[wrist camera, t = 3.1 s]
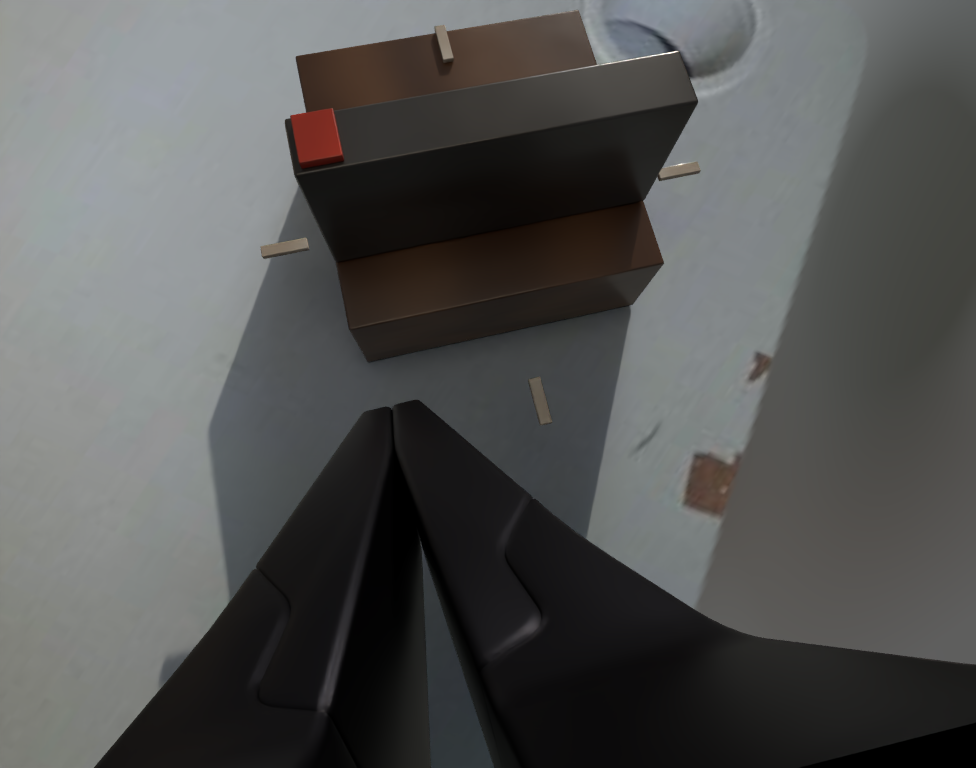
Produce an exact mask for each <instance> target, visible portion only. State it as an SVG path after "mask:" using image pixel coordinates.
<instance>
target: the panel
mask: <svg viewBox="0 0 976 768" xmlns="http://www.w3.org/2000/svg"><path fill="white" fill-rule="evenodd" d="M434 28H435V33H434V34H428V35H422V36H416V37H410V38H404V39H398V40H391V41H385V42H379V43H373V44H367V45H361V46H355V47H349V48H343V49H337V50H331V51H324V52H318V53H312V54H306V55H300V56H296V63H297V68H298V73H299V78H300V83H301V88H302V93H303V98H304V103H305V108H306V113H308V112H313V111H319V110H325V109H331V108H332V109H333V111H336V110H341V109H347V108H353V107H358V106H364V105H370V104H376V103H381V102H387V101H393V100H399V99H404V98H410V97H416V96H422V95H427V94H433V93H439V92H444V91H450V90H456V89H462V88H467V87H473V86H479V85H485V84H490V83H496V82H502V81H507V80H513V79H519V78H525V77H530V76H536V75H542V74H548V73H553V72H559V71H565V70H571V69H576V68H582V67H588V66H593V65H597V63H596V60H595V57H594V54H593V52H592V49H591V46H590V43H589V40H588V37H587V34H586V31H585V28H584V25H583V22H582V19H581V16H580V13H579V11H578V10H574V11H568V12H562V13H556V14H550V15H544V16H538V17H531V18H525V19H519V20H513V21H507V22H501V23H495V24H489V25H483V26H477V27H471V28H464V29H458V30H452V31H446V28H445V25H440V26H435V27H434ZM700 171H701V170H700V168H699V165H698V162H692V163H687V164H682V165H676V166H671V167H666V168H662V169H661V171H660V173H659V174H658V176H657V177H658V180H659V181H662V180H667V179H673V178H678V177H683V176H688V175H693V174H698V173H699V172H700ZM307 250H309V245H308V240H307V238H302V239H296V240H291V241H286V242H281V243H276V244H271V245H266V246H261V253H262V257H263V258H264V259H266V258H271V257H276V256H281V255H286V254H292V253H297V252H302V251H307ZM663 264H664V261H663V259H662V256H661V253H660V250H659V247H658V244H657V241H656V238H655V235H654V232H653V229H652V226H651V223H650V220H649V217H648V214H647V211H646V208H645V205H644V202H643V201H639V202H634V203H629V204H624V205H619V206H614V207H609V208H604V209H599V210H594V211H589V212H584V213H579V214H574V215H569V216H564V217H559V218H554V219H549V220H544V221H539V222H534V223H529V224H524V225H519V226H514V227H509V228H504V229H499V230H493V231H488V232H483V233H478V234H473V235H468V236H463V237H458V238H453V239H448V240H443V241H438V242H433V243H428V244H423V245H418V246H413V247H408V248H403V249H398V250H393V251H388V252H383V253H378V254H373V255H368V256H363V257H358V258H353V259H348V260H343V261H338V262H336V266H337V271H338V276H339V281H340V286H341V291H342V296H343V301H344V306H345V312H346V317H347V322H348V327H349V330H350V332H351V333H352V335H353V337H354V339H355V340H356V342H357V344H358V346H359V347H360V349H361V351H362V353H363V354H364V356H365V358H366V360H367V361H368V362H371V361H375V360H380V359H384V358H389V357H394V356H398V355H403V354H407V353H412V352H417V351H421V350H426V349H430V348H435V347H440V346H444V345H449V344H453V343H458V342H462V341H467V340H472V339H476V338H481V337H485V336H490V335H495V334H499V333H504V332H508V331H513V330H518V329H522V328H527V327H531V326H536V325H541V324H545V323H550V322H554V321H559V320H564V319H568V318H573V317H577V316H582V315H587V314H591V313H596V312H600V311H605V310H610V309H614V308H619V307H623V306H628V305H632V304H633V303H634V302H635V301H636V300H637V298H638V297H639V296H640V294H641V293H642V292H643V290H644V289H645V288H646V286H647V285H648V284H649V282H650V281H651V280H652V278H653V277H654V276H655V274H656V273H657V272H658V271H659V269H660V268H661V267H662V265H663ZM528 383H529V387H530V390H531V394H532V398H533V402H534V405H535V409H536V413H537V417H538V420H539V424H540V426H541V425H546V424H550V423H552V419H551V415H550V411H549V408H548V404H547V400H546V397H545V393H544V389H543V386H542V382H541V378H540V377H536V378H531V379H528Z"/></svg>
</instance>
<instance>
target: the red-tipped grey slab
mask: <svg viewBox="0 0 976 768" xmlns="http://www.w3.org/2000/svg"><path fill="white" fill-rule="evenodd" d="M697 104H698V99H697V97H696V94H695V91H694V89H693V86H692V83H691V81H690V78H689V76H688V73H687V70H686V68H685V65H684V62H683V60H682V57H681V54H680V52H679V51H674V52H668V53H662V54H657V55H651V56H645V57H639V58H634V59H628V60H622V61H616V62H611V63H605V64H599V65H593V66H588V67H582V68H576V69H571V70H565V71H559V72H553V73H548V74H542V75H536V76H530V77H525V78H519V79H513V80H507V81H502V82H496V83H490V84H485V85H479V86H473V87H467V88H462V89H456V90H450V91H444V92H439V93H433V94H427V95H422V96H416V97H410V98H404V99H399V100H393V101H387V102H381V103H376V104H370V105H364V106H358V107H353V108H347V109H341V110H336V111H333V109H332V108H331V109H325V110H319V111H313V112H308V113H302V114H296V115H291V116H290V119H286V120H285V128H286V133H287V138H288V144H289V149H290V155H291V160H292V165H293V171H294V176H295V178H296V180H297V182H298V184H299V186H300V188H301V191H302V193H303V195H304V197H305V199H306V201H307V203H308V205H309V207H310V209H311V211H312V214H313V216H314V218H315V220H316V222H317V224H318V226H319V228H320V230H321V232H322V235H323V237H324V239H325V241H326V243H327V245H328V247H329V249H330V251H331V253H332V255H333V258H334V260H335V261H336V262H338V261H343V260H348V259H353V258H358V257H363V256H368V255H373V254H378V253H383V252H388V251H393V250H398V249H403V248H408V247H413V246H418V245H423V244H428V243H433V242H438V241H443V240H448V239H453V238H458V237H463V236H468V235H473V234H478V233H483V232H488V231H493V230H499V229H504V228H509V227H514V226H519V225H524V224H529V223H534V222H539V221H544V220H549V219H554V218H559V217H564V216H569V215H574V214H579V213H584V212H589V211H594V210H599V209H604V208H609V207H614V206H619V205H624V204H629V203H634V202H639V201H643V200H645V198H646V196H647V194H648V192H649V191H650V189H651V187H652V185H653V183H654V182H655V180H656V178H657V176H658V174H659V173H660V171H661V169H662V167H663V165H664V163H665V162H666V160H667V158H668V156H669V154H670V153H671V151H672V149H673V147H674V145H675V144H676V142H677V140H678V138H679V136H680V135H681V133H682V131H683V129H684V127H685V125H686V124H687V122H688V120H689V118H690V116H691V115H692V113H693V111H694V109H695V107H696V106H697Z"/></svg>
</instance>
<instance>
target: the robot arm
mask: <svg viewBox="0 0 976 768" xmlns="http://www.w3.org/2000/svg"><path fill="white" fill-rule="evenodd" d="M420 540H421V543H422V547H423V550H424V554H425V557H426V561H427V564H428V567H429V570H430V573H431V576H432V579H433V582H434V585H435V588H436V591H437V594H438V597H439V600H440V603H441V606H442V609H443V613H444V616H445V619H446V622H447V625H448V628H449V631H450V634H451V637H452V640H453V643H454V646H455V649H456V652H457V655H458V658H459V661H460V664H461V667H462V670H463V674H464V677H465V680H466V683H467V686H468V689H469V692H470V695H471V698H472V701H473V704H474V707H475V710H476V713H477V716H478V719H479V722H480V725H481V728H482V731H483V734H484V738H485V741H486V744H487V747H488V750H489V753H490V756H491V759H492V762H493V765H494V768H976V665H974V664H963V663H955V662H948V661H940V660H932V659H923V658H915V657H907V656H900V655H893V654H885V653H877V652H869V651H860V650H853V649H845V648H837V647H829V646H822V645H814V644H805V643H798V642H790V641H783V640H774V639H766V638H761V637H755V636H752V635H748V634H745V633H742V632H739V631H737V630H734V629H731V628H728V627H726V626H724V625H722V624H720V623H718V622H716V621H714V620H712V619H710V618H708V617H706V616H705V615H703V614H701V613H699V612H698V611H696V610H694V609H693V608H691V607H690V606H688V605H686V604H685V603H683V602H682V601H680V600H679V599H677V598H676V597H674V596H672V595H671V594H669V593H668V592H666V591H665V590H663V589H662V588H660V587H658V586H657V585H655V584H654V583H652V582H651V581H649V580H647V579H646V578H644V577H643V576H641V575H640V574H638V573H637V572H635V571H633V570H632V569H630V568H629V567H627V566H626V565H624V564H622V563H621V562H619V561H618V560H616V559H615V558H613V557H612V556H610V555H608V554H607V553H606V552H604V551H603V550H601V549H600V548H598V547H597V546H595V545H594V544H592V543H591V542H589V541H588V540H586V539H585V538H583V537H582V536H581V535H579V534H578V533H576V532H575V531H574V530H572V529H571V528H570V527H569V526H567V525H566V524H565V523H564V522H562V521H561V520H560V519H558V518H557V517H556V516H555V515H553V514H552V513H551V512H550V511H549V510H548V509H546V508H545V507H544V506H543V505H542V504H541V503H539V502H538V501H537V500H536V499H533V498H532V496H531V495H530V494H529V493H527V492H526V491H525V490H524V489H523V488H522V487H520V486H519V485H518V484H517V483H516V482H514V481H513V480H512V479H511V478H510V477H509V476H507V475H506V474H505V473H504V472H503V471H502V470H500V469H499V468H498V467H497V466H496V465H495V464H493V463H492V462H491V461H490V460H489V459H488V458H486V457H485V456H484V455H483V454H482V453H481V452H479V451H478V450H477V449H476V448H475V447H473V446H472V445H471V444H470V443H469V442H468V441H466V440H465V439H464V438H463V437H462V436H461V435H459V434H458V433H457V432H456V431H455V430H454V429H452V428H451V427H450V426H449V425H448V424H447V423H445V422H444V421H443V420H442V419H441V418H440V417H438V416H437V415H436V414H435V413H434V412H432V411H431V410H430V409H429V408H428V407H427V406H425V405H424V404H423V403H422V402H421V401H419V400H412V401H408V402H404V403H400V404H396V405H394V406H393V408H392V409H391V408H390V407H382V408H378V409H374V410H369V411H366V412H364V413H363V414H362V415H361V416H360V418H359V419H358V421H357V422H356V423H355V425H354V426H353V428H352V429H351V431H350V432H349V433H348V435H347V436H346V438H345V439H344V441H343V442H342V443H341V445H340V446H339V448H338V449H337V451H336V452H335V453H334V455H333V456H332V458H331V459H330V461H329V462H328V463H327V465H326V466H325V468H324V469H323V471H322V472H321V473H320V475H319V476H318V478H317V479H316V481H315V482H314V483H313V485H312V486H311V488H310V489H309V491H308V492H307V493H306V495H305V496H304V498H303V499H302V501H301V502H300V503H299V505H298V506H297V508H296V509H295V511H294V512H293V513H292V515H291V516H290V518H289V519H288V521H287V522H286V523H285V525H284V526H283V528H282V529H281V531H280V532H279V533H278V535H277V536H276V538H275V539H274V541H273V542H272V543H271V545H270V546H269V548H268V549H267V551H266V552H265V553H264V555H263V556H262V558H261V559H260V561H259V562H258V563H257V565H256V568H257V569H254V570H252V572H251V573H250V574H249V576H248V577H247V579H246V580H245V582H244V583H243V584H242V586H241V587H240V589H239V590H238V592H237V593H236V594H235V596H234V597H233V598H232V600H231V601H230V602H229V604H228V605H227V606H226V608H225V609H224V611H223V612H222V613H221V615H220V616H219V617H218V619H217V620H216V621H215V623H214V624H213V625H212V627H211V628H210V629H209V631H208V632H207V633H206V634H205V635H204V637H203V638H202V639H201V640H200V642H199V643H198V644H197V645H196V647H195V648H194V649H193V650H192V652H191V653H190V654H189V655H188V656H187V658H186V659H185V660H184V661H183V663H182V664H181V665H180V666H179V668H178V669H177V670H176V671H175V672H174V674H173V675H172V676H171V677H170V678H169V679H168V681H167V682H166V683H165V684H164V685H163V687H162V688H161V689H160V690H159V691H158V692H157V694H156V695H155V696H154V697H153V698H152V700H151V701H150V702H149V703H148V704H147V705H146V707H145V708H144V709H143V710H142V711H141V713H140V714H139V715H138V716H137V717H136V718H135V720H134V721H133V722H132V723H131V724H130V726H129V727H128V728H127V729H126V730H125V732H124V733H123V734H122V735H121V736H120V737H119V739H118V740H117V741H116V742H115V743H114V745H113V746H112V747H111V748H110V749H109V750H108V752H107V753H106V754H105V755H104V756H103V758H102V759H101V760H100V761H99V762H98V763H97V765H96V766H95V767H94V768H431V758H430V734H429V711H428V687H427V663H426V640H425V616H424V592H423V569H422V552H421V543H420Z"/></svg>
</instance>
